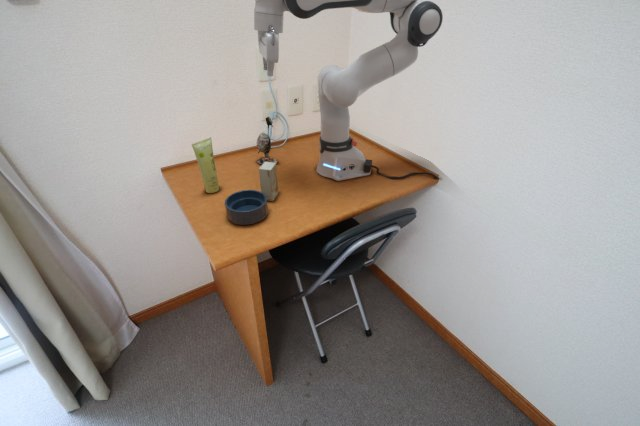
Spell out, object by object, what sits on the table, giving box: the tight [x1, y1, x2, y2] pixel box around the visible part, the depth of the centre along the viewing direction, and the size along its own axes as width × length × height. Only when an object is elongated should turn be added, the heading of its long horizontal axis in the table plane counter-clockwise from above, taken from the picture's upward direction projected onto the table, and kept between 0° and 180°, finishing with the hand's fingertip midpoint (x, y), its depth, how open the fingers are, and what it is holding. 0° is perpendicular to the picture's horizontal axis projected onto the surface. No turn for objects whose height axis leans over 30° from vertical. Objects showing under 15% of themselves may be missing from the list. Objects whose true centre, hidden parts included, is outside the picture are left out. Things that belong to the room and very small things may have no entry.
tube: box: [191, 137, 220, 194], centre depth 111 cm, size 6×5×20 cm
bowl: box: [224, 189, 269, 226], centre depth 102 cm, size 13×13×6 cm
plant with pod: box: [256, 116, 279, 165], centre depth 131 cm, size 8×11×20 cm
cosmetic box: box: [258, 162, 279, 202], centre depth 110 cm, size 6×4×12 cm
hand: (268, 72), depth 104 cm, fingers open, 8 cm apart
